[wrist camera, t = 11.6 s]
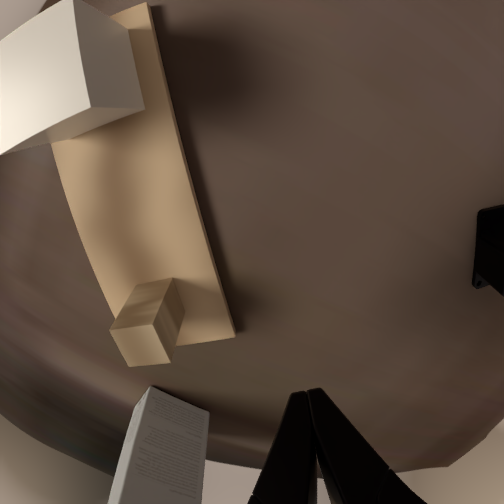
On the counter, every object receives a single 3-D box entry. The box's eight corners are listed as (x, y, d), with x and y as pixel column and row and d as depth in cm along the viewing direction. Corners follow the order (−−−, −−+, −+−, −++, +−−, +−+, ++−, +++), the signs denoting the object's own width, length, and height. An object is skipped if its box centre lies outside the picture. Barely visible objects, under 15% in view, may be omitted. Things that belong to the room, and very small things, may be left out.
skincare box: (134, 406, 26) (101, 515, 15) (150, 383, 25) (115, 507, 14) (191, 431, 27) (176, 539, 16) (212, 411, 26) (201, 532, 15)
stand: (150, 6, 14) (113, -31, 8) (235, 330, 22) (232, 390, 17) (40, 57, 14) (-16, 48, 9) (134, 344, 23) (112, 399, 17)
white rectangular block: (145, 109, 16) (90, 107, 10) (69, 139, 16) (-2, 155, 10) (127, 29, 14) (72, -6, 8) (53, 64, 14) (-17, 54, 8)
